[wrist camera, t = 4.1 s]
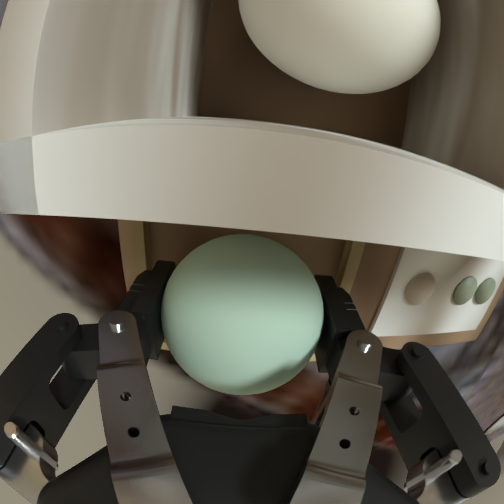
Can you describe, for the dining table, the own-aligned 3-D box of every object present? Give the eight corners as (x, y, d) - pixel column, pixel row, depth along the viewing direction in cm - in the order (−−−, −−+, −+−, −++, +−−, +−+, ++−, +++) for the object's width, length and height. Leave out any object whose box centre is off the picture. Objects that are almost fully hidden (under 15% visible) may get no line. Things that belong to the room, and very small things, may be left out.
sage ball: (320, 218, 12) (370, 306, 6) (295, 325, 15) (311, 424, 9) (179, 205, 12) (124, 286, 6) (182, 315, 14) (155, 412, 9)
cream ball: (388, -3, 7) (468, -49, 2) (381, 113, 10) (481, 126, 4) (250, -34, 7) (249, -121, 1) (233, 87, 9) (213, 54, 4)
